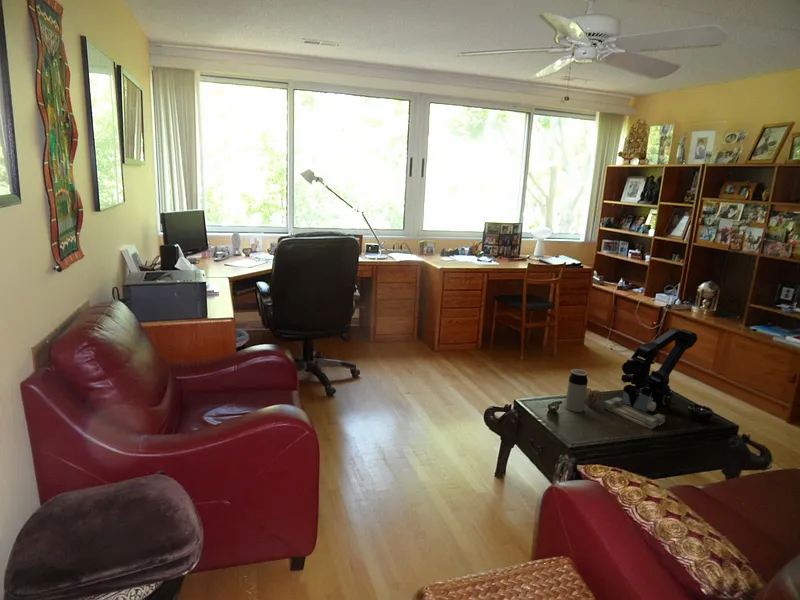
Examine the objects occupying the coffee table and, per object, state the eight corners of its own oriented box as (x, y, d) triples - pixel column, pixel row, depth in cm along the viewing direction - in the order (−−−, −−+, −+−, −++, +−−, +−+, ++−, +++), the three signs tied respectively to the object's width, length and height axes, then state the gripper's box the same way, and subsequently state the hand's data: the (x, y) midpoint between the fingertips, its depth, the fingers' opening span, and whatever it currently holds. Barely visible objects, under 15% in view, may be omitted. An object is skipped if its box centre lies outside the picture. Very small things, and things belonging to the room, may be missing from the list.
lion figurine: (602, 410, 232) (605, 392, 230) (591, 410, 231) (594, 392, 229) (586, 397, 246) (588, 380, 244) (576, 397, 246) (578, 380, 244)
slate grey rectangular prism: (627, 400, 245) (629, 389, 244) (655, 412, 234) (657, 399, 233) (622, 402, 243) (623, 390, 242) (649, 413, 232) (652, 401, 230)
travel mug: (584, 413, 228) (590, 376, 224) (566, 411, 229) (571, 373, 225) (582, 406, 235) (587, 369, 231) (564, 404, 237) (569, 367, 233)
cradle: (616, 403, 241) (617, 396, 240) (664, 423, 222) (665, 416, 222) (602, 408, 234) (603, 401, 234) (650, 429, 216) (652, 421, 215)
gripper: (637, 364, 247) (632, 394, 251) (615, 370, 236) (610, 401, 240) (659, 371, 238) (654, 402, 242) (637, 378, 228) (632, 410, 231)
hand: (637, 403), depth 239 cm, fingers open, 9 cm apart
